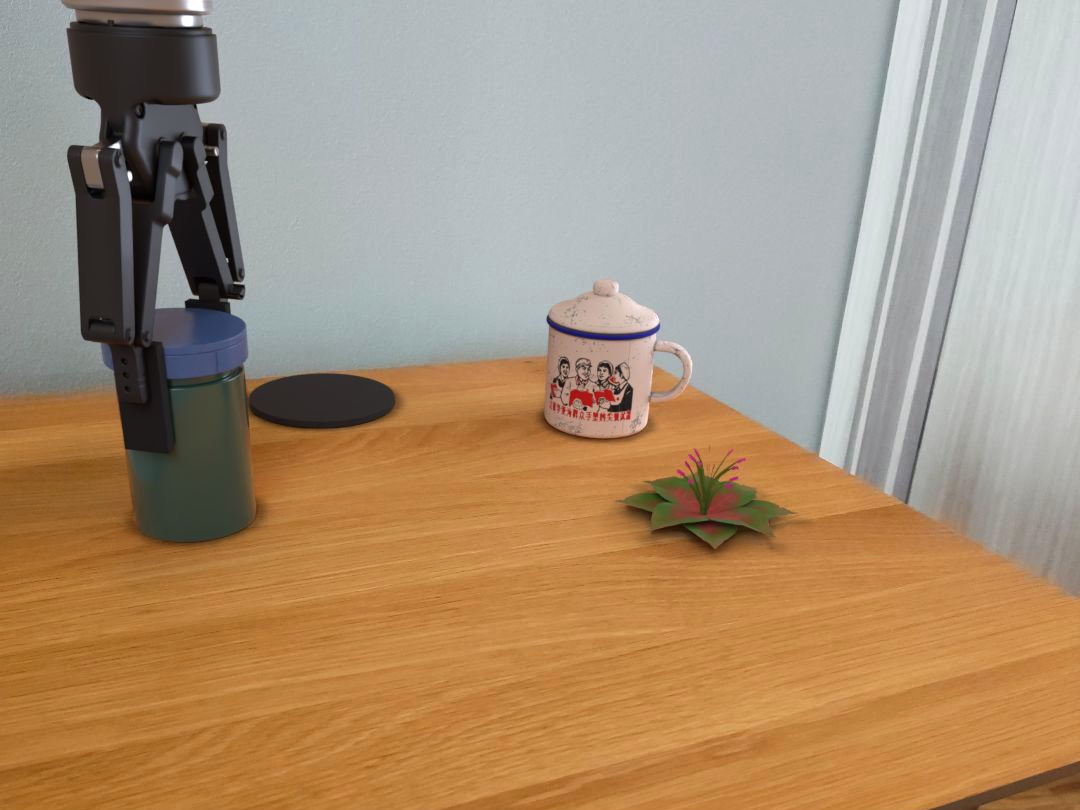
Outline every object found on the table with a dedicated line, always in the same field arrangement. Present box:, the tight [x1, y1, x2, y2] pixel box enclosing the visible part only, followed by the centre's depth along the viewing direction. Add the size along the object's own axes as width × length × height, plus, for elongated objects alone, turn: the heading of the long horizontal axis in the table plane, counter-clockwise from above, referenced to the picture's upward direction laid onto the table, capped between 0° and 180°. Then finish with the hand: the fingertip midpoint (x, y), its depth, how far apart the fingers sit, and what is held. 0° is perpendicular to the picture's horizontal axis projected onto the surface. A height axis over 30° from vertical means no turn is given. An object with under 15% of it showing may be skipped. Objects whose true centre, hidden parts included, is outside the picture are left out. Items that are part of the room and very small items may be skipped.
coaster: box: [248, 372, 396, 429], centre depth 89 cm, size 12×12×1 cm
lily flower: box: [613, 446, 799, 550], centre depth 72 cm, size 12×12×5 cm
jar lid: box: [100, 307, 249, 379], centre depth 64 cm, size 8×8×2 cm
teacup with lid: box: [543, 278, 693, 439], centre depth 85 cm, size 12×9×12 cm
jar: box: [113, 363, 257, 543], centre depth 66 cm, size 8×8×12 cm
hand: (185, 422), depth 66 cm, fingers closed on jar lid, 8 cm apart
